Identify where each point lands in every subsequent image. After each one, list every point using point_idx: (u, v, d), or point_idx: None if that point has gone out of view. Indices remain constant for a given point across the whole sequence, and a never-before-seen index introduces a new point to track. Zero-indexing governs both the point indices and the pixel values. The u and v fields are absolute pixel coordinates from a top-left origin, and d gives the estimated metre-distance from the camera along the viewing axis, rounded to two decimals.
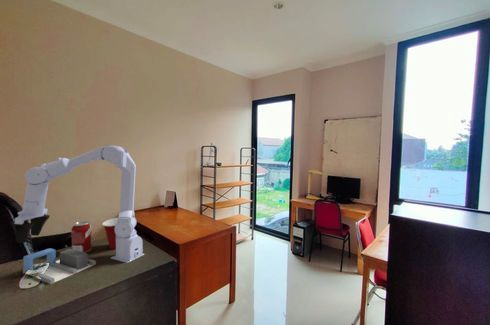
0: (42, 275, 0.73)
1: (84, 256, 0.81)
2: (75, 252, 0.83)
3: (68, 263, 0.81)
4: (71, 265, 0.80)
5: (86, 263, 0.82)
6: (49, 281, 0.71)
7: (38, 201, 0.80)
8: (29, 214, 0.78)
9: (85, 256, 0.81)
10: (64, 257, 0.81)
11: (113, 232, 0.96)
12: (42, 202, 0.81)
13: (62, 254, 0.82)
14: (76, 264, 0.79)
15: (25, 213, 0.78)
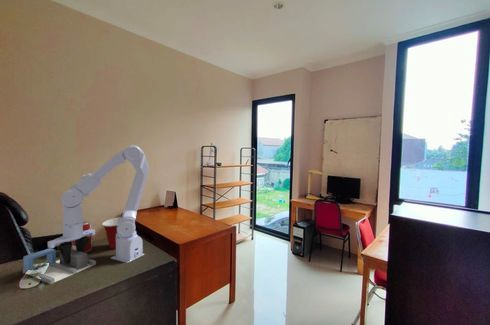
0: (42, 275, 0.73)
1: (84, 256, 0.81)
2: (75, 252, 0.83)
3: None
4: (71, 265, 0.80)
5: (86, 263, 0.82)
6: (49, 281, 0.71)
7: (78, 223, 0.81)
8: (65, 237, 0.79)
9: (85, 256, 0.81)
10: None
11: (113, 232, 0.96)
12: (74, 224, 0.80)
13: None
14: (76, 264, 0.79)
15: (63, 236, 0.80)
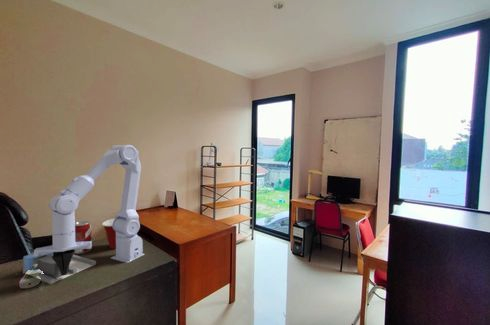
0: (42, 275, 0.73)
1: None
2: None
3: (45, 271, 0.75)
4: (49, 273, 0.74)
5: None
6: (49, 281, 0.71)
7: (73, 230, 0.74)
8: (52, 247, 0.72)
9: None
10: (42, 264, 0.76)
11: (113, 232, 0.96)
12: (58, 235, 0.70)
13: (39, 261, 0.76)
14: (54, 272, 0.73)
15: None
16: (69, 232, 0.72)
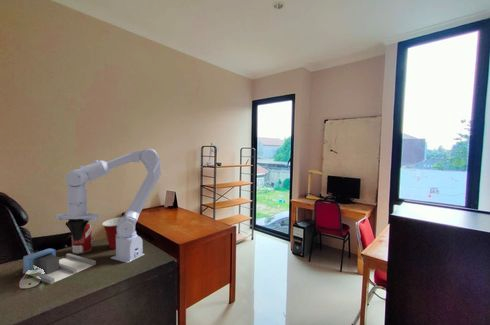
0: (42, 275, 0.73)
1: (55, 259, 0.78)
2: (47, 255, 0.80)
3: (39, 267, 0.78)
4: None
5: (57, 267, 0.79)
6: (49, 281, 0.71)
7: (82, 202, 0.82)
8: None
9: (56, 260, 0.78)
10: (35, 260, 0.79)
11: (113, 232, 0.96)
12: (68, 204, 0.80)
13: None
14: (46, 268, 0.76)
15: None
16: (77, 203, 0.80)
